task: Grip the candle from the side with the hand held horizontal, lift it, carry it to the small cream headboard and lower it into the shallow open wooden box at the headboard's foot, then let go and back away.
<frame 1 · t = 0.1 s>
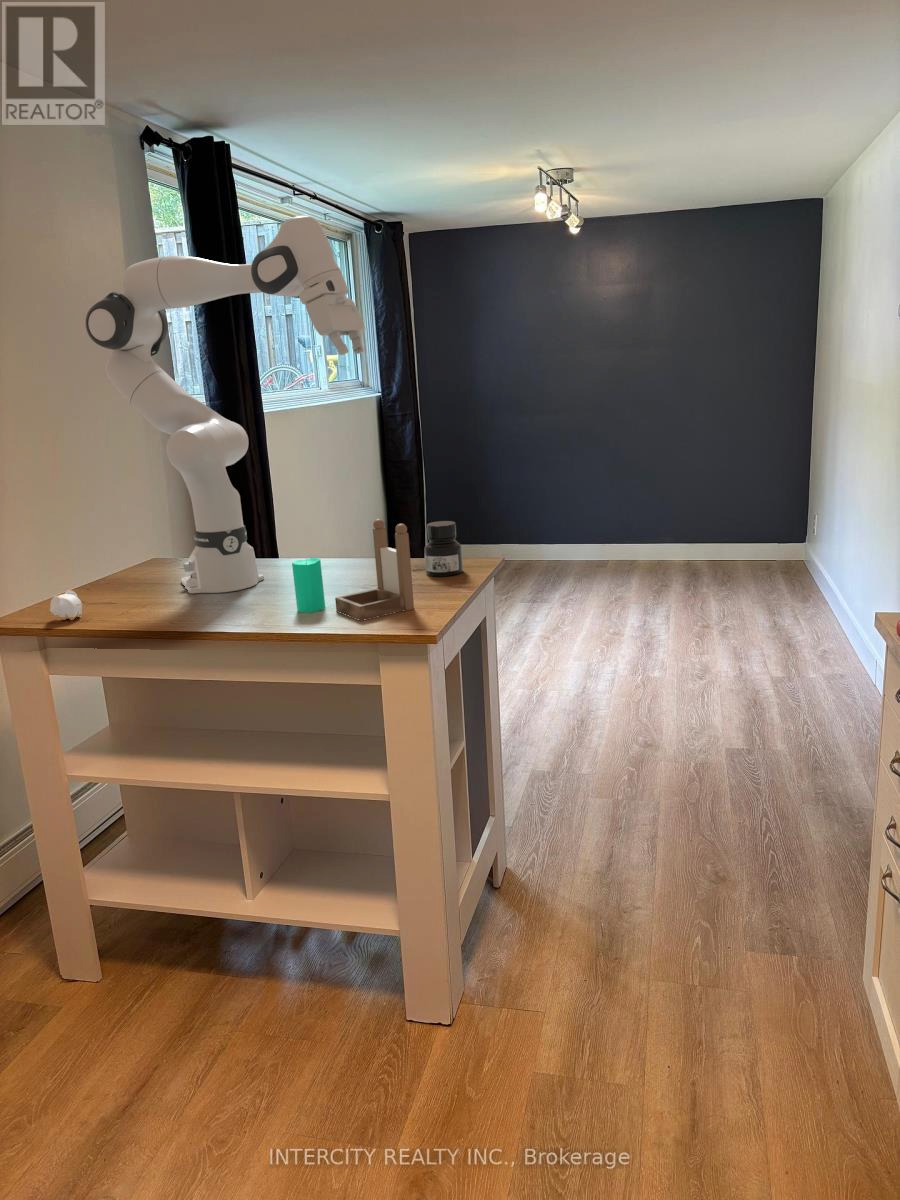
hand: (352, 353, 202), 52 cm above the table, tool tilted 20°, fingers open, 8 cm apart
ink bottle: (444, 573, 225), on the table
headboard: (396, 604, 199), on the table
elephant figurine: (69, 620, 205), on the table
candle: (311, 609, 201), on the table
shallow open wooden box: (370, 610, 196), on the table
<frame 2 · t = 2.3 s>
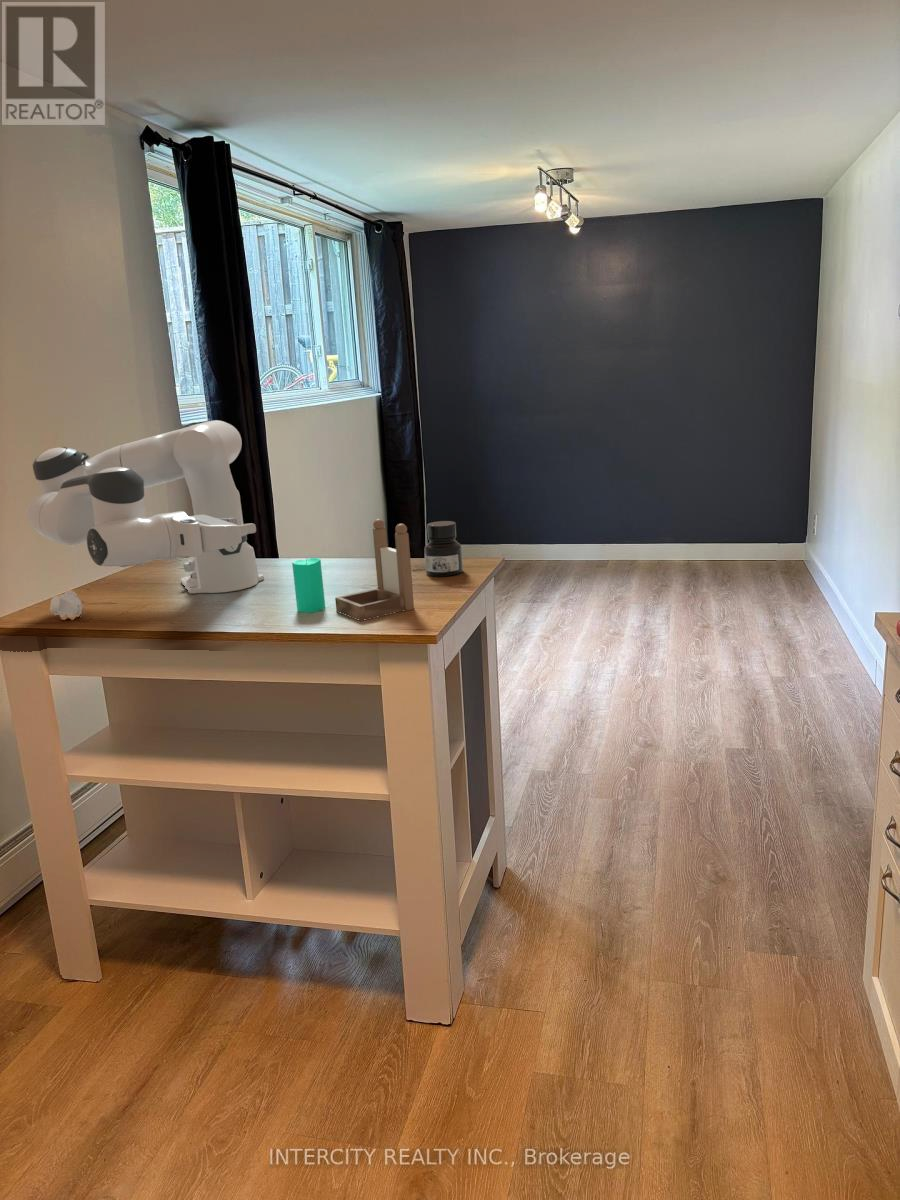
hand: (245, 524, 189), 20 cm above the table, tool horizontal, fingers open, 8 cm apart
nothing on the table moved.
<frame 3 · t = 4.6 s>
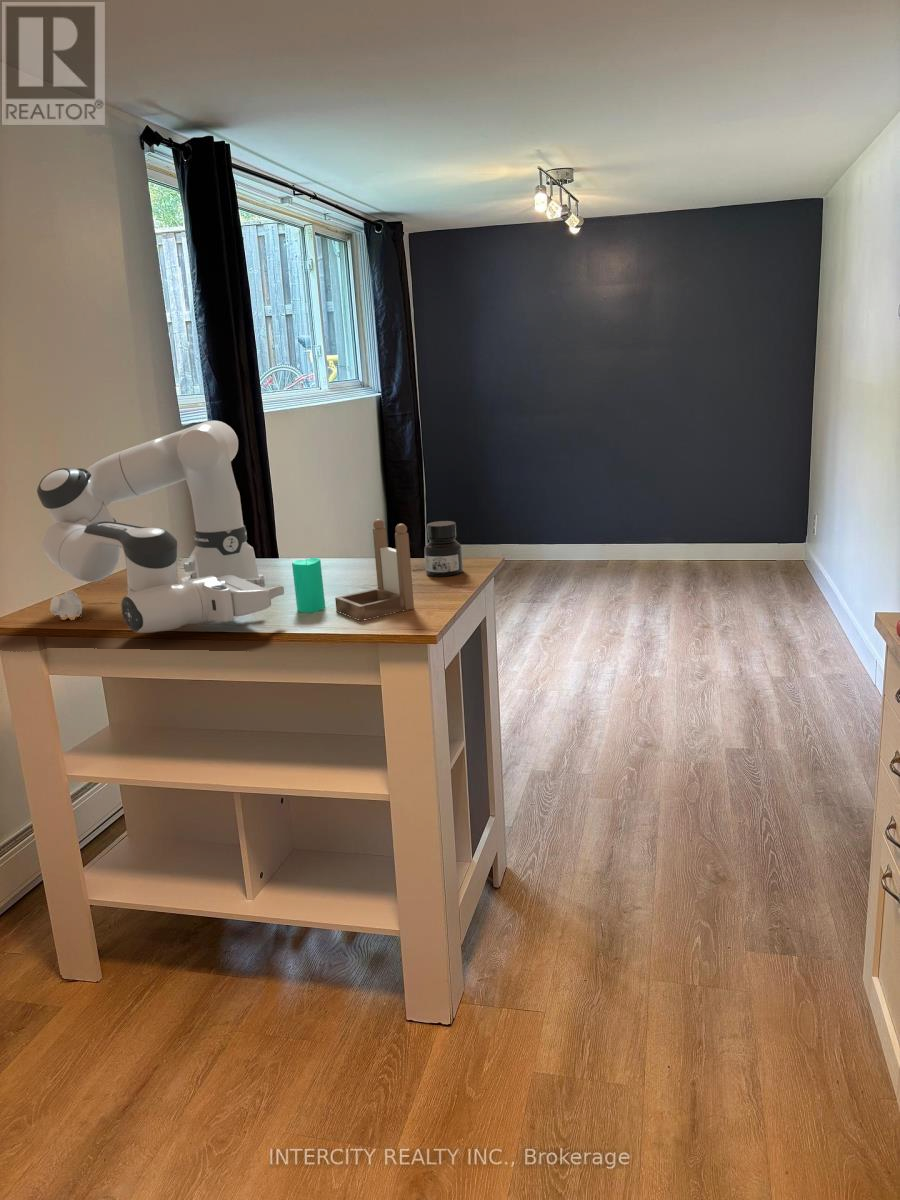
hand: (272, 585, 194), 7 cm above the table, tool horizontal, fingers open, 8 cm apart
nothing on the table moved.
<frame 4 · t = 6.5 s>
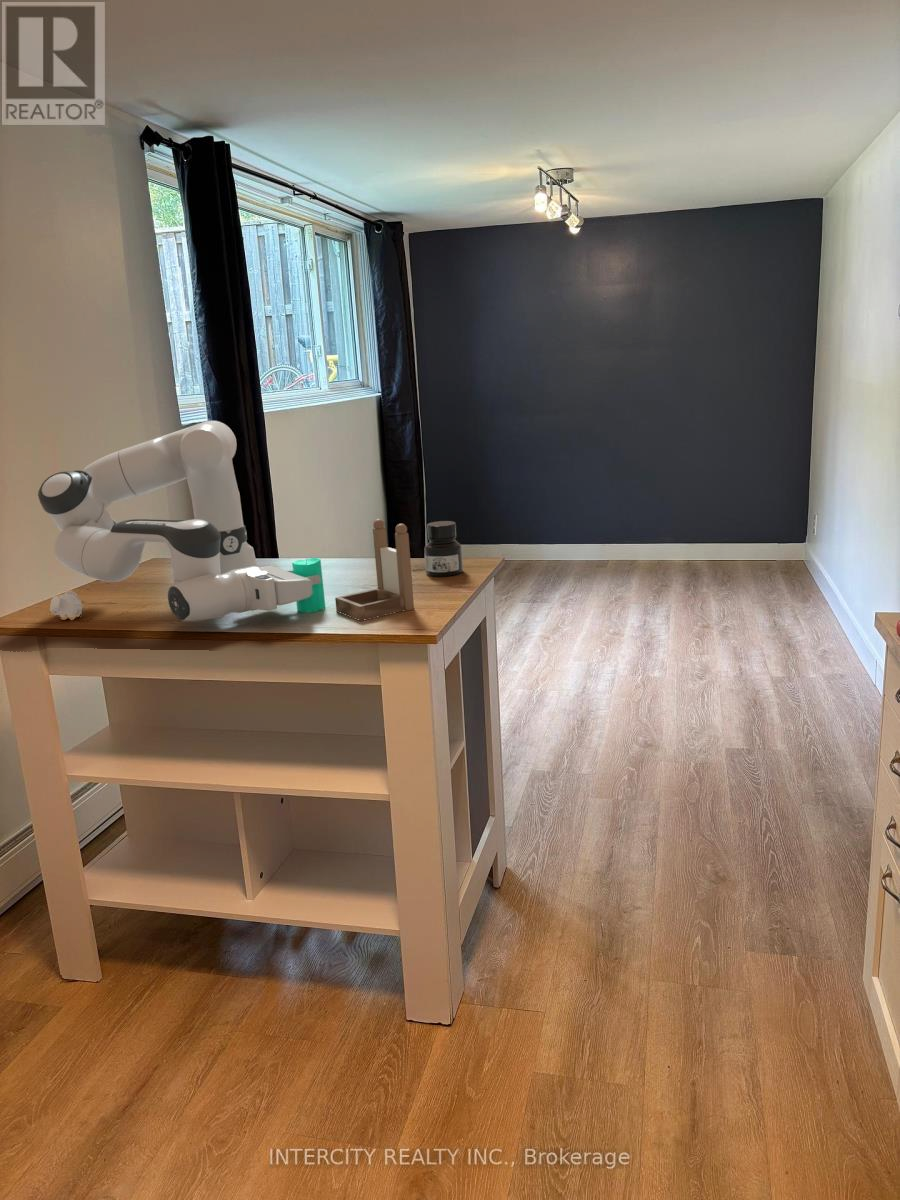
hand: (311, 575, 199), 7 cm above the table, tool horizontal, fingers closed on candle, 5 cm apart
candle: (311, 609, 201), on the table, touching gripper
everything else where it was.
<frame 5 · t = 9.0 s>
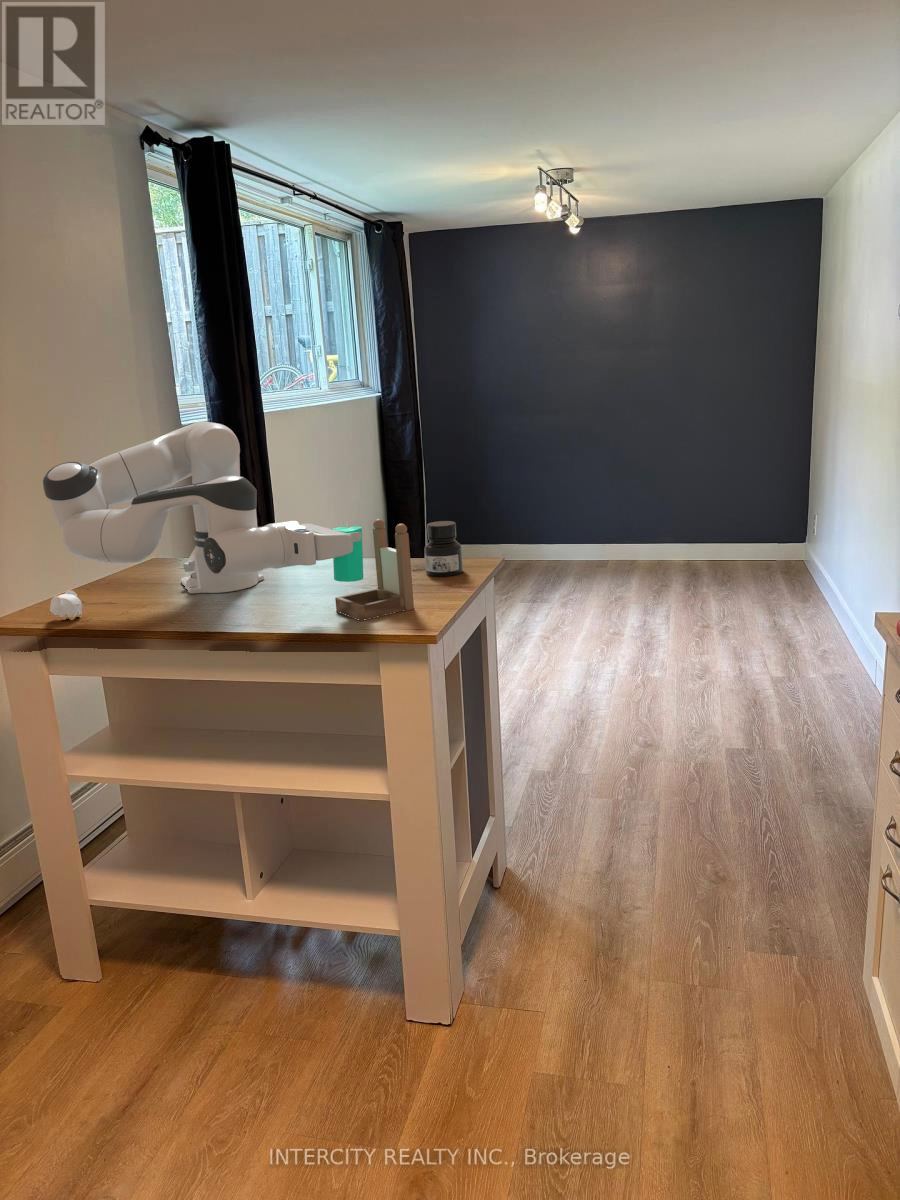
hand: (352, 533, 191), 17 cm above the table, tool horizontal, fingers closed on candle, 5 cm apart
candle: (348, 579, 193), point 7 cm above the table, touching gripper
everything else where it was.
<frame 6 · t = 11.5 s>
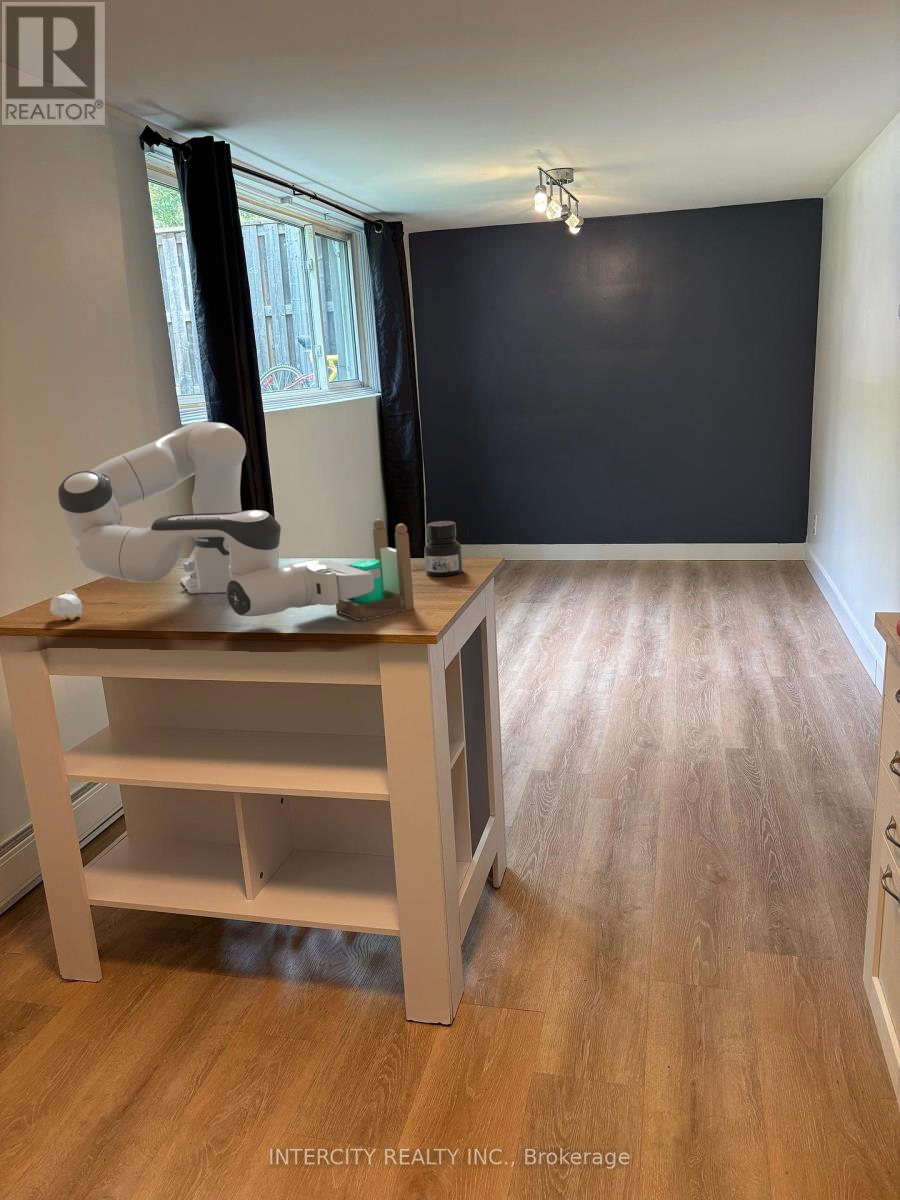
hand: (370, 570, 194), 9 cm above the table, tool horizontal, fingers closed on candle, 5 cm apart
candle: (370, 612, 195), resting in shallow open wooden box, touching gripper
everything else where it was.
when the fingers open (9 cm above the table, at t = 11.7 s): candle stays where it is, resting in shallow open wooden box.
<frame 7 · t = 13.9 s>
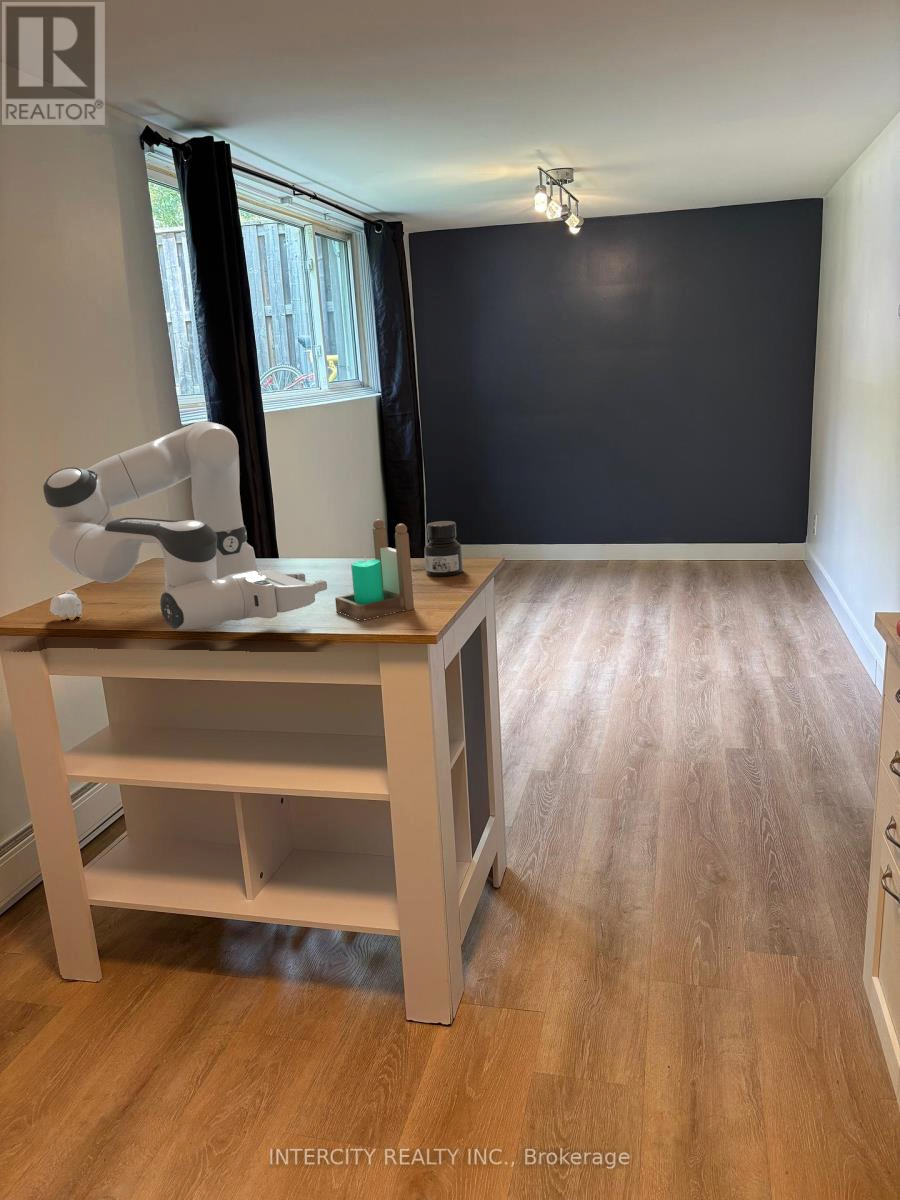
hand: (314, 580, 187), 9 cm above the table, tool horizontal, fingers open, 8 cm apart
candle: (370, 612, 195), resting in shallow open wooden box
everything else where it was.
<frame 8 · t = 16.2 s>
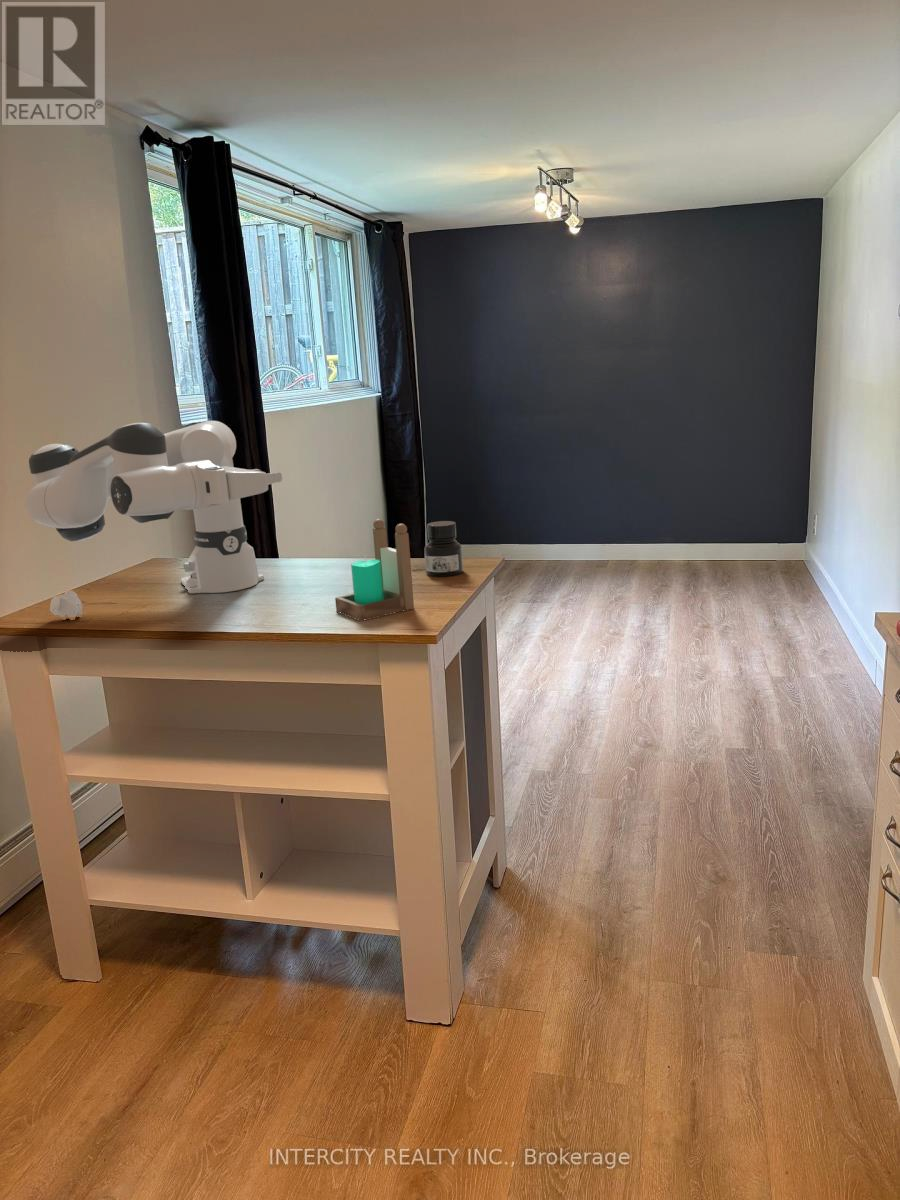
hand: (270, 474, 184), 30 cm above the table, tool horizontal, fingers open, 8 cm apart
nothing on the table moved.
at the end: candle 0.4 cm off-centre on the shallow open wooden box, point 0.0 cm above the shallow open wooden box's base; candle tilted 0°; the gripper is holding nothing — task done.
